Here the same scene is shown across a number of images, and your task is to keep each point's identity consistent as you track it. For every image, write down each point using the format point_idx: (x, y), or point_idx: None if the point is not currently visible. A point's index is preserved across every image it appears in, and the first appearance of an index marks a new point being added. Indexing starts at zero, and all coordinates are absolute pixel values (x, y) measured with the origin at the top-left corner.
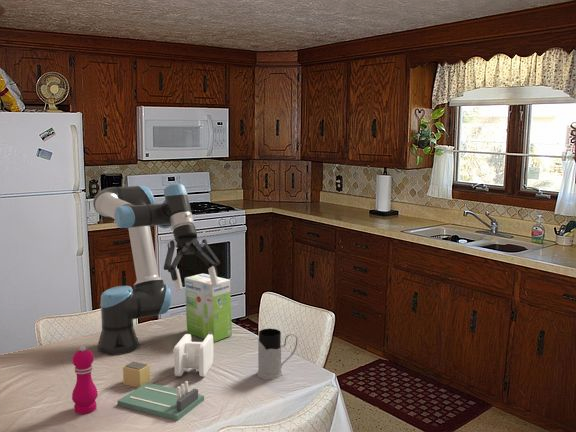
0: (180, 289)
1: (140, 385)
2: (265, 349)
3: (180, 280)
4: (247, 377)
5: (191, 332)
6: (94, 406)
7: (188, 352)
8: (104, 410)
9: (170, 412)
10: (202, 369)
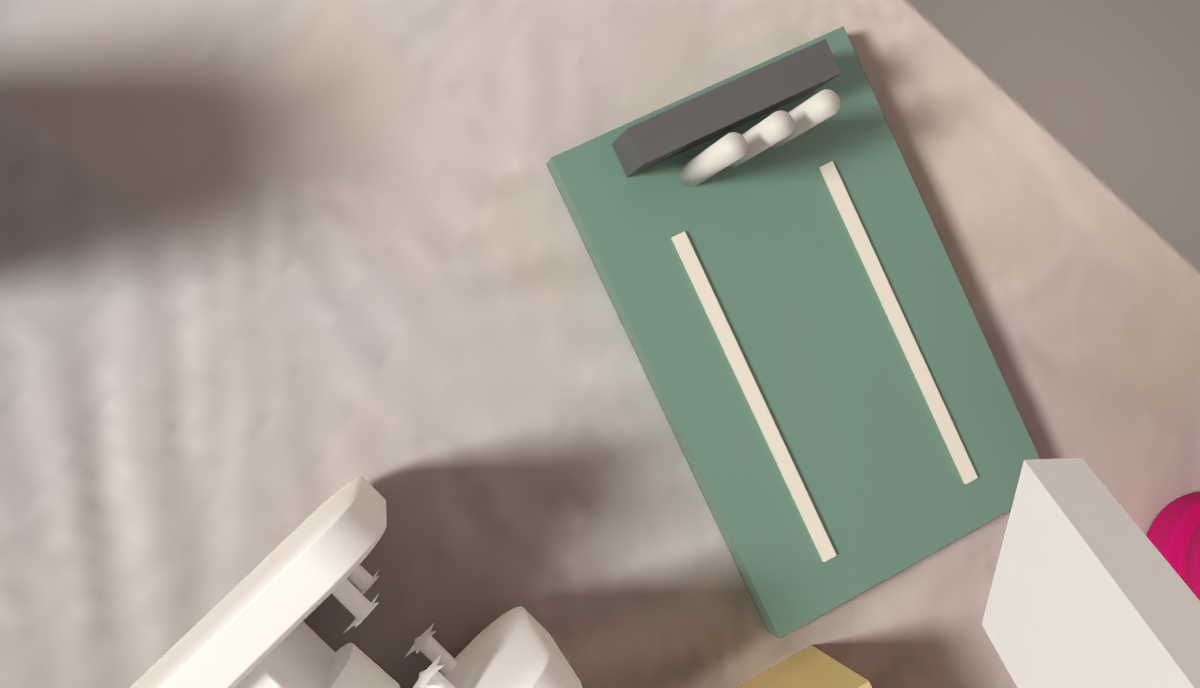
0: (1017, 537)
1: (817, 649)
2: None
3: (1151, 597)
4: (24, 275)
5: None
6: (1184, 508)
7: None
8: (1118, 469)
9: (857, 96)
10: (365, 484)
